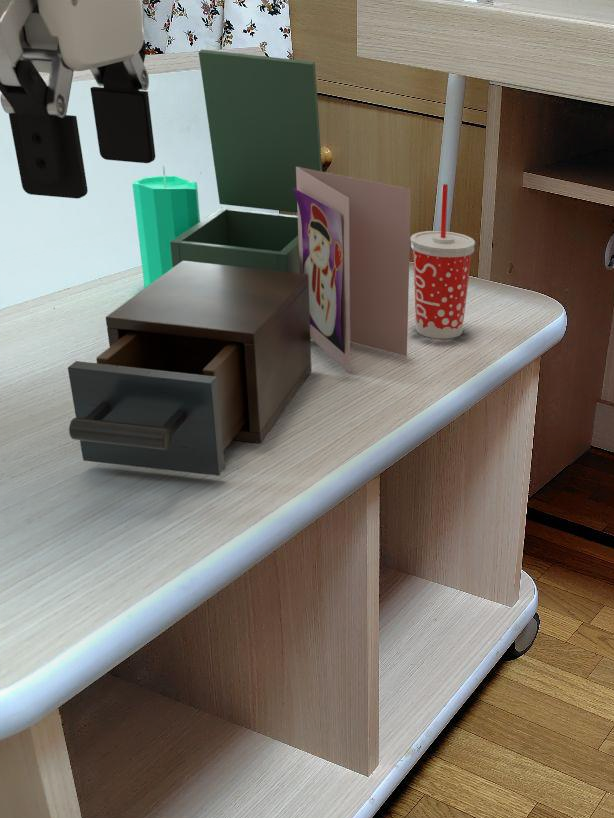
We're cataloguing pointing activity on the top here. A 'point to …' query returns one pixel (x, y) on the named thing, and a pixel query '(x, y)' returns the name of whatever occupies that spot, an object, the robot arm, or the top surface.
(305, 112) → the chest lid
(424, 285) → the beverage cup
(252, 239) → the chest
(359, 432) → the top surface
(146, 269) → the candle
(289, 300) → the cabinet
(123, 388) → the drawer
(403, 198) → the greeting card
